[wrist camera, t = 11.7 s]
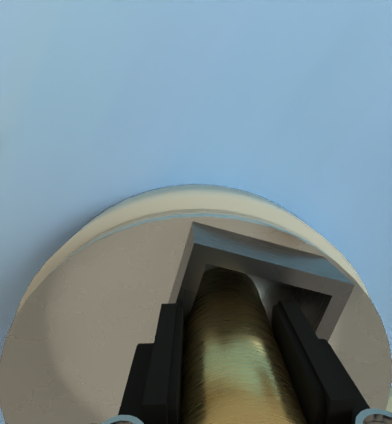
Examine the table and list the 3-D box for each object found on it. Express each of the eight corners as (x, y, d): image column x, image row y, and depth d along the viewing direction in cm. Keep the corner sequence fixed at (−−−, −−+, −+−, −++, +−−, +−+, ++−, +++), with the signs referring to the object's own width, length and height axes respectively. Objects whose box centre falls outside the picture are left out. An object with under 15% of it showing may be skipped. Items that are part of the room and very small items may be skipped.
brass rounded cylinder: (183, 268, 12) (154, 623, 4) (259, 265, 12) (416, 614, 4) (187, 332, 13) (172, 731, 5) (258, 329, 13) (378, 726, 4)
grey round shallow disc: (47, 157, 12) (-14, 168, 9) (436, 266, 14) (526, 313, 11) (-4, 473, 17) (-58, 570, 13) (296, 523, 19) (323, 620, 15)
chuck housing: (365, 180, 17) (409, 191, 13) (330, 442, 22) (355, 496, 19) (14, 188, 16) (-30, 202, 13) (63, 454, 21) (41, 512, 18)
